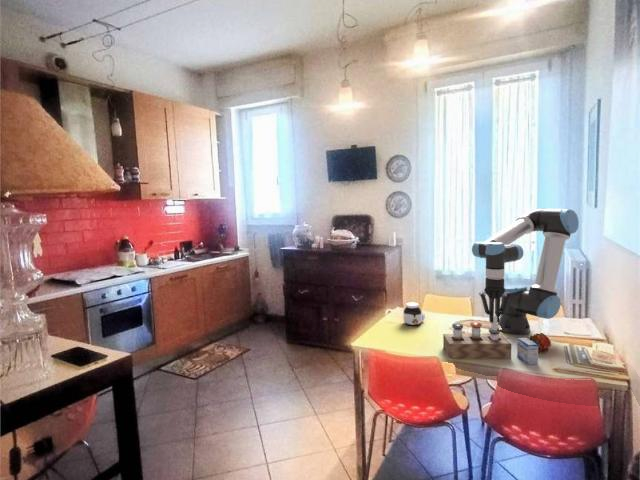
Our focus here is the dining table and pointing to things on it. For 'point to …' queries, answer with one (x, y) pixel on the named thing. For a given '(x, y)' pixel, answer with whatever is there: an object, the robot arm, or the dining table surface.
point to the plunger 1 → (457, 331)
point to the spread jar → (413, 314)
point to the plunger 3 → (494, 334)
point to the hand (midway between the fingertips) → (494, 329)
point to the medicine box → (527, 351)
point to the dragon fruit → (541, 341)
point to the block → (477, 347)
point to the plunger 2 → (475, 331)
